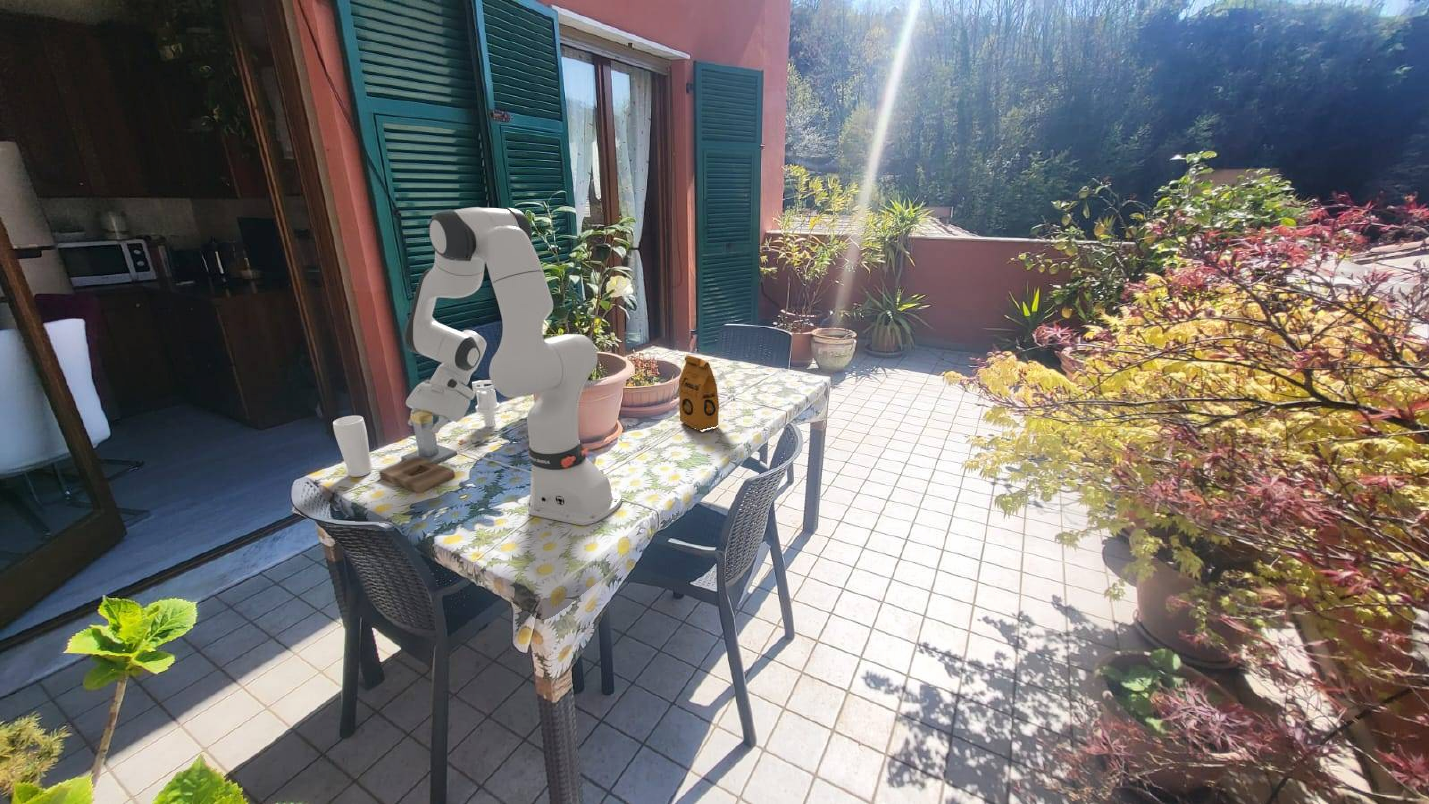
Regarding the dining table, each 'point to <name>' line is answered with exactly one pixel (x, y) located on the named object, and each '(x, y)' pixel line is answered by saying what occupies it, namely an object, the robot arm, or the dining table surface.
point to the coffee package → (698, 394)
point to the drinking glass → (353, 444)
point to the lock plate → (421, 482)
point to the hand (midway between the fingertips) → (421, 428)
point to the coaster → (442, 455)
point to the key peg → (424, 433)
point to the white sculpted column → (486, 401)
